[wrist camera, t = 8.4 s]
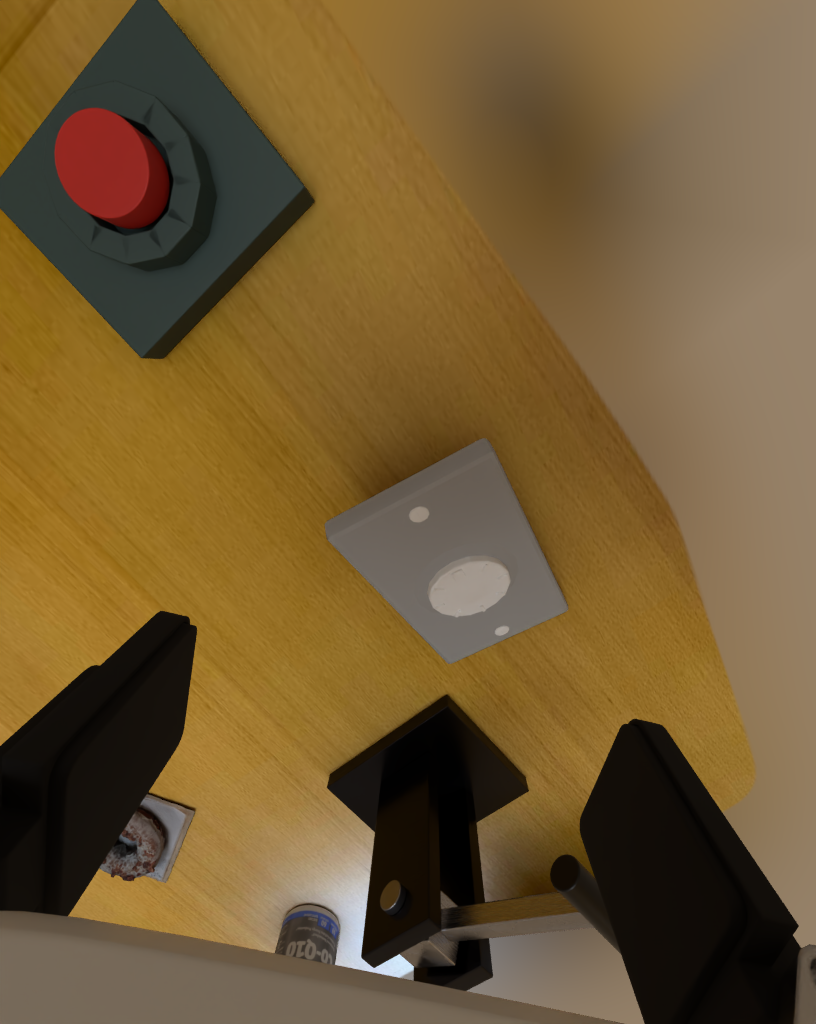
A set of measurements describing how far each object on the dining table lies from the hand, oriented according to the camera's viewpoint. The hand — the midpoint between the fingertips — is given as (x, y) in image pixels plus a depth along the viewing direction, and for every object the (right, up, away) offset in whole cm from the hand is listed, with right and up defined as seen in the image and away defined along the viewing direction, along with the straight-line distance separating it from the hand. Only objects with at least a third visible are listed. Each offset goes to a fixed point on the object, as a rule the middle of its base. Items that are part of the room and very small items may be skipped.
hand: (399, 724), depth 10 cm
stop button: (-12, +20, +12) cm, 26 cm away
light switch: (+3, +2, +20) cm, 20 cm away
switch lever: (+5, -15, +14) cm, 21 cm away
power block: (-12, +21, +15) cm, 28 cm away
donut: (-21, -20, +28) cm, 40 cm away
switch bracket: (+2, -15, +25) cm, 29 cm away
